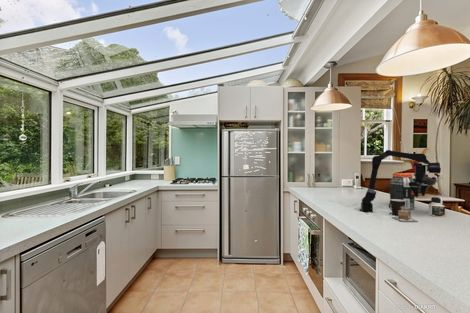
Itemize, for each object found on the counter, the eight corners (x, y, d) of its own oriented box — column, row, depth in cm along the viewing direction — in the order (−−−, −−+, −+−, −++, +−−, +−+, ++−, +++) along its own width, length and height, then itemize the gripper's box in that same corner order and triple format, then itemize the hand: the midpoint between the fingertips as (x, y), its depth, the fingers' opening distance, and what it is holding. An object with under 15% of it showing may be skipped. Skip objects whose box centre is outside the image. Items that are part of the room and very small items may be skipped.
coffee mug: (401, 213, 181) (401, 199, 181) (408, 216, 173) (408, 201, 173) (383, 213, 183) (383, 198, 182) (389, 216, 174) (389, 201, 174)
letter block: (407, 220, 161) (407, 211, 161) (398, 218, 165) (398, 210, 165) (411, 219, 164) (411, 211, 164) (402, 217, 168) (402, 209, 168)
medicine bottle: (431, 216, 175) (432, 197, 175) (428, 213, 182) (428, 196, 182) (445, 217, 172) (445, 198, 172) (441, 214, 179) (441, 196, 179)
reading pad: (401, 222, 160) (401, 220, 160) (391, 217, 170) (391, 216, 170) (418, 222, 160) (418, 221, 160) (407, 218, 170) (407, 216, 170)
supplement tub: (415, 211, 189) (415, 174, 189) (389, 208, 198) (389, 174, 197) (413, 207, 203) (414, 173, 203) (390, 205, 211) (390, 172, 211)
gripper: (428, 174, 162) (427, 199, 162) (441, 172, 172) (440, 196, 172) (408, 172, 171) (408, 197, 172) (421, 171, 182) (421, 194, 182)
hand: (420, 196), depth 174 cm, fingers open, 9 cm apart
